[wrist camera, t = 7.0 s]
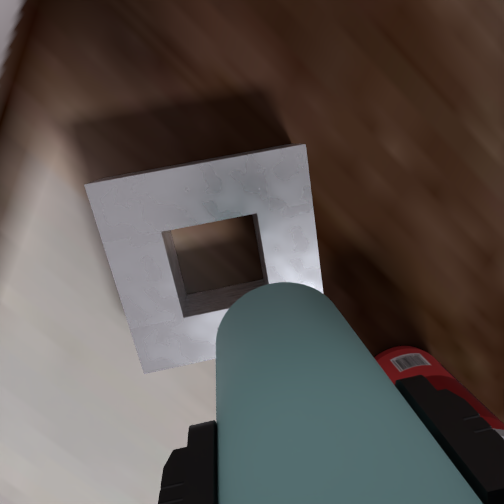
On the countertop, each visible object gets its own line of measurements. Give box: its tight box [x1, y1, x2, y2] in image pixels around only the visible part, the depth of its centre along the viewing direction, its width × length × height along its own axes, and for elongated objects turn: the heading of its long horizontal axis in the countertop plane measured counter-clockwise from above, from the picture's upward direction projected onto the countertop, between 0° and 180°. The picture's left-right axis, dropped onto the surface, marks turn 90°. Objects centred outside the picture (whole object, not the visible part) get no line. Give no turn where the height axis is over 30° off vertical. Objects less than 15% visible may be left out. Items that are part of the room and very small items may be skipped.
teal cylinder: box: [216, 282, 483, 504], centre depth 10 cm, size 5×5×10 cm
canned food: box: [374, 346, 504, 439], centre depth 29 cm, size 8×8×11 cm
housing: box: [84, 144, 323, 374], centre depth 26 cm, size 14×14×4 cm
